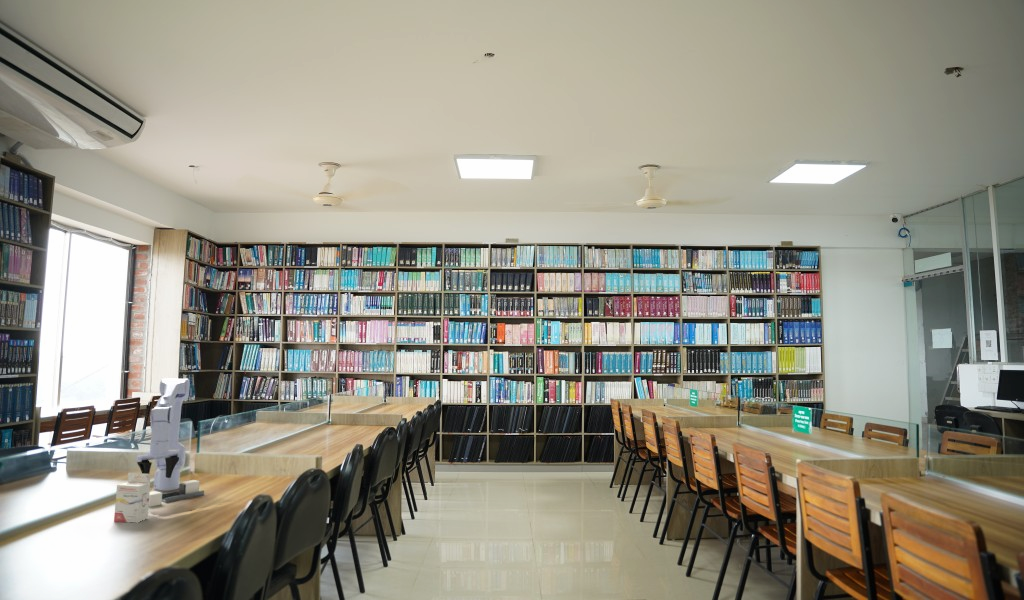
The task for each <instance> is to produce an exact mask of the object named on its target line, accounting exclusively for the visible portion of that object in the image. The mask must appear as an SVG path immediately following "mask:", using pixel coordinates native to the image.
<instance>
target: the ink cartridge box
mask: <svg viewBox="0 0 1024 600" xmlns="http://www.w3.org/2000/svg"><path fill="white" fill-rule="evenodd" d="M138 477H140V478H138ZM150 481H151V475H150V474H143V473H142V472H140V473H139V472H128V473H127V481H125V482H123V483H119V484H117V485H116V493H115V504H114V516H113V517H114V518H113V521H114V522H115V523H116V522H117V523H130V522H136V523H135V524H138V523H140V521H141V522H143V521H145V519H146V520H147V518H148V519H149V494H150V492H151V491H150V489H151V482H150ZM142 520H143V521H142Z"/></svg>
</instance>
